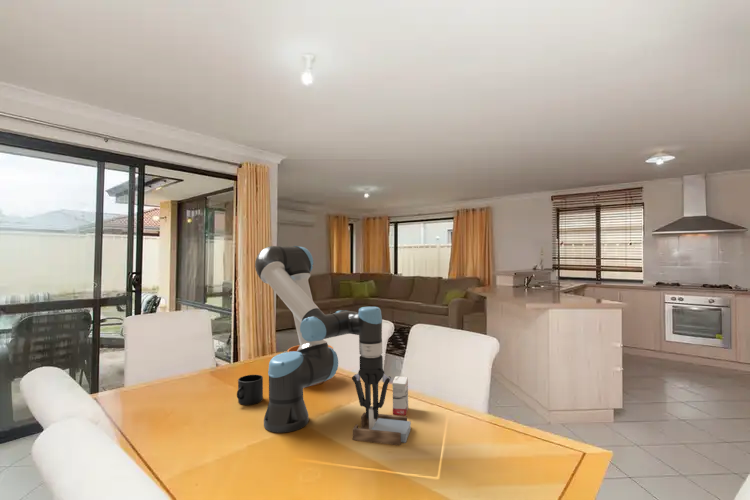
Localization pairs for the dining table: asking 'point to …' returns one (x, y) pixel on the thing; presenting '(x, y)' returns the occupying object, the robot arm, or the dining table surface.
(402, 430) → the tile
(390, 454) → the dining table surface
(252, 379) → the mug
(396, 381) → the ink box
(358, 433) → the box
